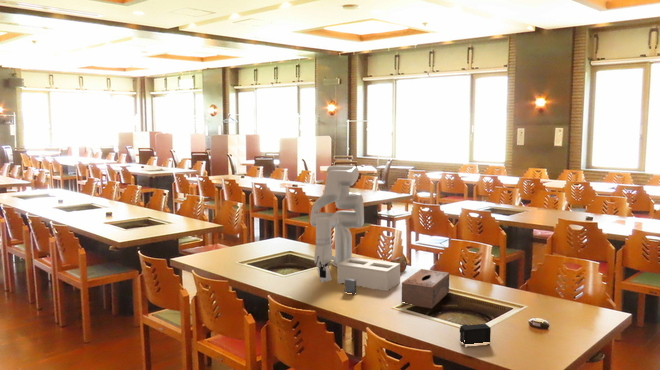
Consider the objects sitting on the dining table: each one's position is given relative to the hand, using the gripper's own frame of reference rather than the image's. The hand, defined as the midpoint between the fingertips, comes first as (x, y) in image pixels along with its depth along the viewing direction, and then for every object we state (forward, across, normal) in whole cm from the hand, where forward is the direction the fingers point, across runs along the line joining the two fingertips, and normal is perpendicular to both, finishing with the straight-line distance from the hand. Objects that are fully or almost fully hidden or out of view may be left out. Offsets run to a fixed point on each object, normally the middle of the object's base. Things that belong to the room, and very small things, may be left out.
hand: (324, 276), depth 278 cm
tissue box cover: (+7, -11, +49) cm, 51 cm away
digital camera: (+5, +30, +84) cm, 89 cm away
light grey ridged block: (+2, 0, +1) cm, 2 cm away
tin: (+7, -43, +21) cm, 49 cm away
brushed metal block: (+6, +1, +15) cm, 16 cm away
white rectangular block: (+7, -19, +15) cm, 25 cm away
